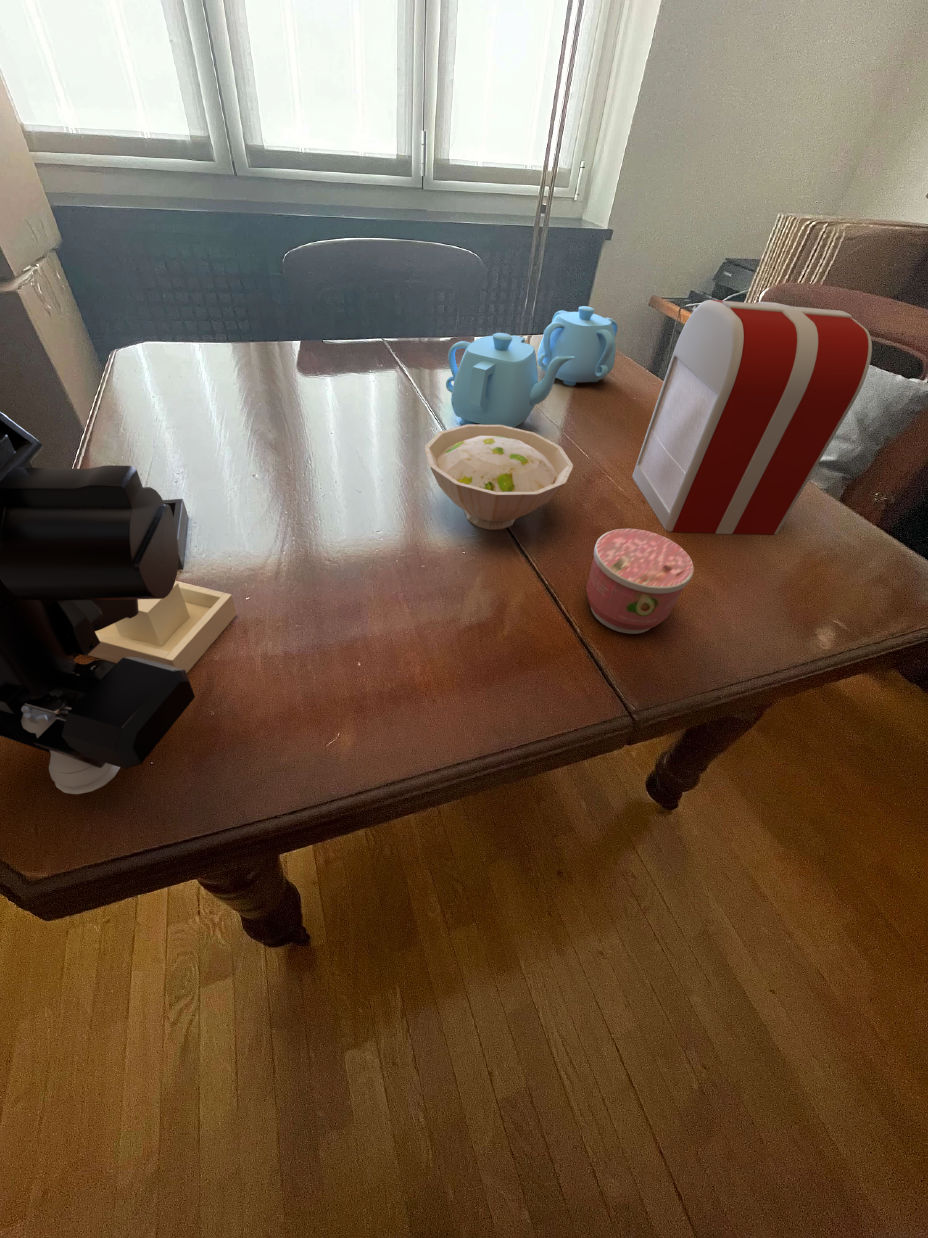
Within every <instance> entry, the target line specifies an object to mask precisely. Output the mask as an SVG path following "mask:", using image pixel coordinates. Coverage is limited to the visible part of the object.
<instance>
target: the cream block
mask: <svg viewBox="0 0 928 1238" xmlns="http://www.w3.org/2000/svg"><path fill="white" fill-rule="evenodd" d="M138 609H139V613H138V614H137V615H136V616H134V617H132V618H124V619H122V620H120V621H118V622H116V623H114V624H115V626H116V628H117V630H118V632H119V634H120V636H124V637H127V638H131V639H135V640H139V641H142V642H146V643H150V644H154V645H157V646H161V647H162V646H163V645H164V644H165V642H166V641H167V640H168V639H169V638H170V637H171V636H172V635H173V634H174V633H175V632H176V631H177V630H178V629H179V628H180V627H181V626H182V624H183V623H184V622H185V621H186V620H187V619H188V618H189V617H190V616H189V613H188V610H187V607H186V604H185V601H184V598H183V596H182V593H181V590H180V587H179V584H178V583H176V582H175V583H174V586H173V589H172V590H171V592H170V593H169V595H168V596H167V597H165V598H164V599H138Z"/></svg>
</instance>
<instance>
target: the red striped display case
mask: <svg viewBox="0 0 928 1238" xmlns="http://www.w3.org/2000/svg"><path fill="white" fill-rule="evenodd" d="M872 354H873V342H872V338H871V334H870V332H869V330H868V329H867V328H866V327H864V326H863V325H862V324H861V323H860V322H858V320H856V319H855V318H853V315H852V314H849V313H848V312H846V311H844V310H839V309H837V310H836V309H827V308H826V309H825V308H818V307H817V308H815V307H805V306H804V307H803V306H792V305H788V304H783V303H779V302H773V301H772V302H771V301H770V302H769V301H757V302H755V303H754V302H744V301H733V300H721V299H720V300H719V299H707V300H704V301H702V302H701V303H700V304H698V305H697V306H696V307H695V309H694V310H693V311H692V312H691V314H690V316H689V317H688V319H687V321H686V322H685V324H684V326H683V328H682V330H681V331H680V334H679V337H678V339H677V342H676V344H675V346H674V350H673V352H672V356H671V358H670V362H669V365H668V368H667V371H666V374H665V377H664V380H663V383H662V386H661V389H660V392H659V395H658V397H657V401H656V403H655V407H654V409H653V413H652V415H651V418H650V422H649V424H648V427H647V431H646V434H645V436H644V440H643V442H642V446H641V448H640V452H639V455H638V457H637V460H636V463H635V466H634V470H633V473H632V475H631V477H632V479H633V481H634V483H635V484H636V486H637V487H638V489H639V490H640V492H641V494H642V496H643V497H644V498H645V500H646V502H647V503H648V505H649V506H650V508H651V509H652V512H653V513H654V514H655V516H656V518H657V520H658V521H659V522H660V524H661V526H662V527H663V529H664V530H665V531H666V532H668V533H672V532H673V533H693V534H694V533H696V534H716V535H734V534H736V535H740V534H741V535H771V536H772V535H778V534H779V532H780V530H781V529H782V527H783V525H784V523H785V522H786V520H787V518H788V516H789V515H790V513H791V512H792V510H793V508H794V506H795V504H796V503H797V501H798V499H799V498H800V496H801V494H802V492H803V491H804V490H805V487H806V486H807V484H808V482H809V480H810V479H811V478H812V475H813V474H814V472H815V470H816V469H817V467H818V465H819V463H820V461H821V460H822V458H823V456H824V454H825V453H826V451H827V450H828V448H829V446H830V444H831V442H832V441H833V439H834V438H835V436H836V434H837V432H838V430H839V429H840V428H841V426H842V424H843V422H844V420H845V419H846V417H847V415H848V414H849V411H851V409H852V407H853V405H854V403H855V401H856V399H857V398H858V396H859V395H860V393H861V390H862V388H863V385H864V383H865V381H866V377H867V375H868V372H869V368H870V365H871V361H872Z"/></svg>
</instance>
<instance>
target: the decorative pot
mask: <svg viewBox="0 0 928 1238" xmlns="http://www.w3.org/2000/svg"><path fill="white" fill-rule="evenodd" d="M618 328H619V327H618V323H617V321H616V320H614V318H611V317H603V316H601V315H599V314H597V313H595V308H593V307H592V306H586V305H581V306H579V307H578V311H567V310H558V311H556V312H555V313H554V315H553V316H552V320H551V323H550V324H548V325H547V326H546V328H544V331H543V335H542V339H541V341H540V344H539V347H538V350H537V359H536V361H537V366H538V367H540V368H541V369H542V370H543V371H544V372H545V373H546V371H547V368H548V366H549V364H550V362H551V361H552V360H553V359H554V358H555V357H558V356H574V358H573V359H571V360H568V361H567V362H565V363H564V364H563V365H562V366H561V367H560V368H559V370H558V372H557V374H556V377H555V379H559V380H561V381H563V384H564V385H567V386H576V384H577V383H598V382H599V381H600V380H602V379H604V378H606V377H607V376H608V374H610V372H611V371H612V370H613V368H614V366H615V361H616V350H617V349H616V346H617V345H616V337H617V333H618Z"/></svg>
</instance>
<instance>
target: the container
mask: <svg viewBox="0 0 928 1238" xmlns="http://www.w3.org/2000/svg"><path fill="white" fill-rule="evenodd" d="M694 569H695V568H694V563H693V560H692V558H691V557H690V555H689V554H688V553H687V552H686V551H685V550H684V549H683V547H681V546H680V545H679V544H677V543H676V542H675V541H672V540H671V539H669V538H667V537H666V536H663V535H660V534H659V533H655V532H652V531H650V530H649V531H648V530H644V529H639V528H618V529H613V530H610V531H607V532H605V533H603V534H602V535H601V536H600V537H598V539H597V541H596V543H595V545H594V549H593V559H592V563H591V566H590V570H589V571H590V572H589V575H588V579H587V582H586V587H585V589H586V594H587V600H588V604H589V606H590V611H591V613H592V615H593V616H594V617H595V618H596V620H598V622H599V623H601V624H602V625H604V626H605V627H607V628H609V629H611V630H613V631H616V632H619V633H623V634H629V635H630V634H631V635H633V634H635V635H637V634H642V633H645V632H647V631H649V630H650V629H653V628H654V627H656V626H658V625H659V624H660V623H662V622H663V621H664V620H666V619H667V618H668V617H669V615H670V614H671V613H672V610H673V608H674V607H675V605H676V603H677V602H678V599H679V598H680V596H681V594H682V593H683V590H684V588H685V587H686V586H687V585H688V584H689V583H690V581H691V579H692V577H693V574H694Z"/></svg>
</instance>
